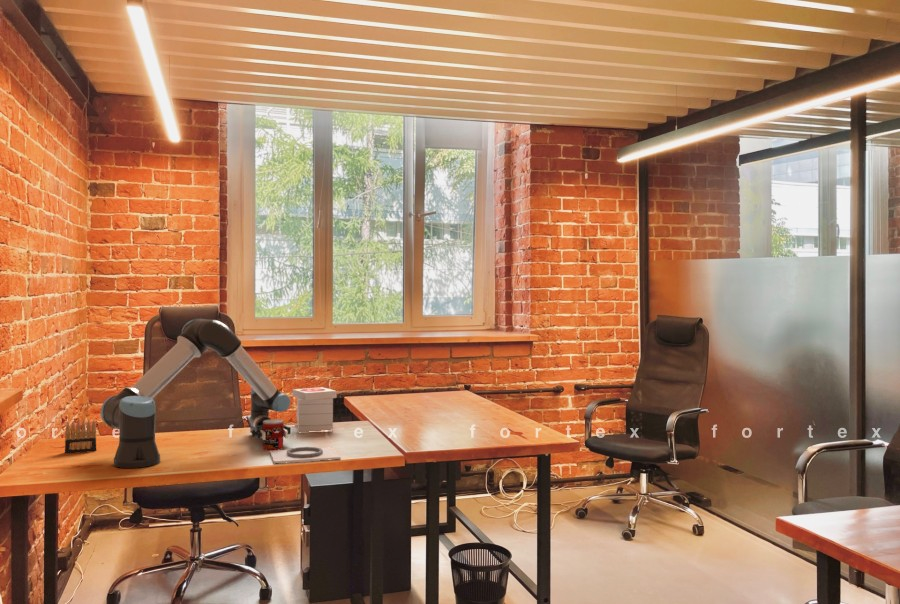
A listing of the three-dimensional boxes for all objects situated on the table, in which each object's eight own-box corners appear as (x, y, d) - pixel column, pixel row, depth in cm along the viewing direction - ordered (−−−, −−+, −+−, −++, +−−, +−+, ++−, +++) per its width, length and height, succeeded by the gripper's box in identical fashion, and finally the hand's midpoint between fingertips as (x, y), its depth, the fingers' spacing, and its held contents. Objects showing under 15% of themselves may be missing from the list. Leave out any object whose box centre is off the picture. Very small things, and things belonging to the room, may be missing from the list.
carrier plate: (274, 464, 246) (274, 458, 246) (270, 453, 263) (270, 447, 263) (340, 459, 254) (340, 453, 254) (332, 449, 271) (332, 443, 271)
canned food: (259, 450, 268) (259, 422, 268) (269, 445, 276) (269, 418, 276) (276, 451, 267) (277, 423, 267) (286, 447, 274) (286, 419, 274)
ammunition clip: (96, 450, 265) (96, 419, 265) (96, 451, 264) (96, 420, 264) (64, 452, 261) (65, 421, 260) (64, 453, 259) (64, 422, 259)
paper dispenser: (331, 421, 334) (331, 384, 334) (337, 432, 305) (337, 392, 305) (291, 422, 329) (291, 385, 329) (293, 434, 300) (293, 393, 300)
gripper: (288, 432, 292) (302, 442, 272) (238, 436, 283) (248, 447, 263) (288, 415, 292) (302, 424, 272) (238, 418, 283) (248, 427, 262)
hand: (275, 435), depth 267 cm, fingers closed on canned food, 8 cm apart
